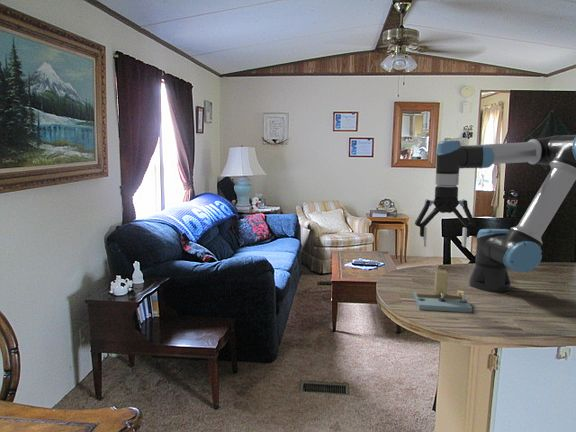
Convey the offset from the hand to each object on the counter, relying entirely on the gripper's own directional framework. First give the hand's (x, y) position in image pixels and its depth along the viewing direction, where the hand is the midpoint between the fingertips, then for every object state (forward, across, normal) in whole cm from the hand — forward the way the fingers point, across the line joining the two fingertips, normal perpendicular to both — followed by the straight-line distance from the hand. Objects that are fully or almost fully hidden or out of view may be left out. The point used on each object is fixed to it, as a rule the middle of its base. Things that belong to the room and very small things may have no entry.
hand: (443, 246), depth 161 cm
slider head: (+18, +1, +3) cm, 18 cm away
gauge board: (+20, +1, +4) cm, 20 cm away
